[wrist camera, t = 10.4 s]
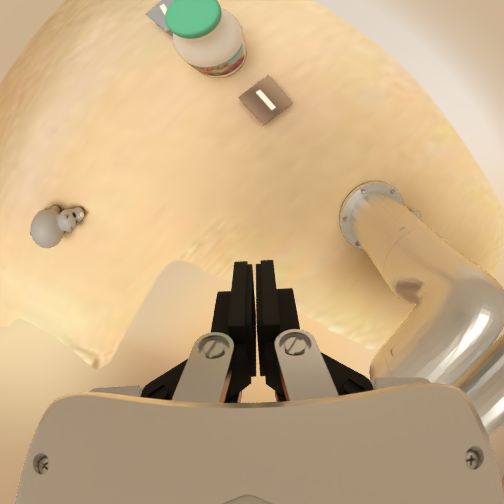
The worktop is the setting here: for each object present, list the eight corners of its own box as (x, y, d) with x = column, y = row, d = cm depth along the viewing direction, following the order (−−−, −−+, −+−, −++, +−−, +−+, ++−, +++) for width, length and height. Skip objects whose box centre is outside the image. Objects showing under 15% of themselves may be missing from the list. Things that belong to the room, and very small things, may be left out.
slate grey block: (180, 2, 27) (172, -9, 23) (200, 19, 29) (194, 8, 24) (156, 22, 29) (145, 14, 24) (175, 39, 31) (165, 31, 26)
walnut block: (266, 79, 34) (268, 74, 30) (288, 103, 36) (293, 103, 32) (240, 99, 36) (238, 97, 31) (262, 123, 38) (263, 125, 33)
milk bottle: (193, 36, 30) (147, -13, 13) (245, 31, 30) (238, -27, 13) (194, 80, 34) (145, 59, 17) (247, 76, 34) (241, 46, 16)
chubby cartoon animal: (93, 224, 48) (87, 241, 41) (45, 240, 45) (34, 259, 38) (84, 191, 45) (74, 203, 38) (34, 208, 41) (20, 223, 34)
